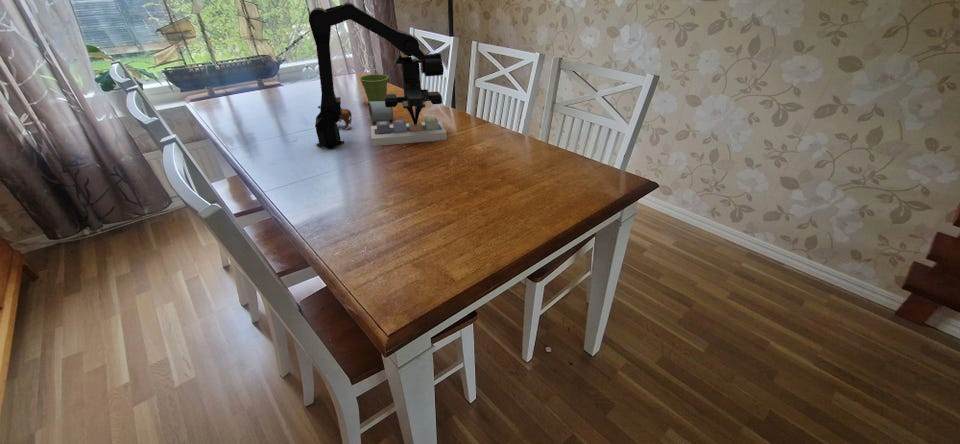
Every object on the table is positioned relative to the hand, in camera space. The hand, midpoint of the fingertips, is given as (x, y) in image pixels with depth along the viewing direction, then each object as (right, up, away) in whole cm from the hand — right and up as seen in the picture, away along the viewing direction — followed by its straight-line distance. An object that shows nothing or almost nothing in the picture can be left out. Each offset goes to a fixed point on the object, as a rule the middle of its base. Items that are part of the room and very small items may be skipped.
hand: (415, 124), depth 130 cm
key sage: (+5, -1, +2) cm, 6 cm away
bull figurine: (-31, +1, +9) cm, 32 cm away
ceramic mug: (-16, +6, +16) cm, 24 cm away
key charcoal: (-11, -3, -1) cm, 11 cm away
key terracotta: (0, -3, +2) cm, 3 cm away
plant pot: (-22, +17, +32) cm, 42 cm away
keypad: (-3, -4, +2) cm, 5 cm away
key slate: (-5, -2, 0) cm, 6 cm away
